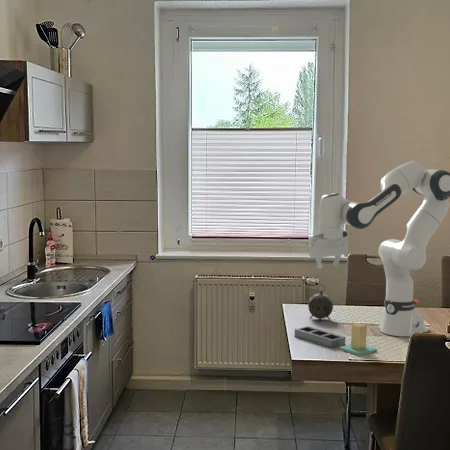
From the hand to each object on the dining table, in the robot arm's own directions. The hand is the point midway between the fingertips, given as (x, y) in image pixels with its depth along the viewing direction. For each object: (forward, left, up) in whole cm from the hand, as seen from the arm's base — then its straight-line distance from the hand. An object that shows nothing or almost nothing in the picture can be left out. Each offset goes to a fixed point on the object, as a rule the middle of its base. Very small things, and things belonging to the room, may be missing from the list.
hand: (328, 267), depth 262 cm
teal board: (+4, +20, -29) cm, 36 cm away
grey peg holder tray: (+6, +2, -29) cm, 30 cm away
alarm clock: (-18, -19, -29) cm, 39 cm away
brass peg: (+4, +20, -28) cm, 35 cm away
